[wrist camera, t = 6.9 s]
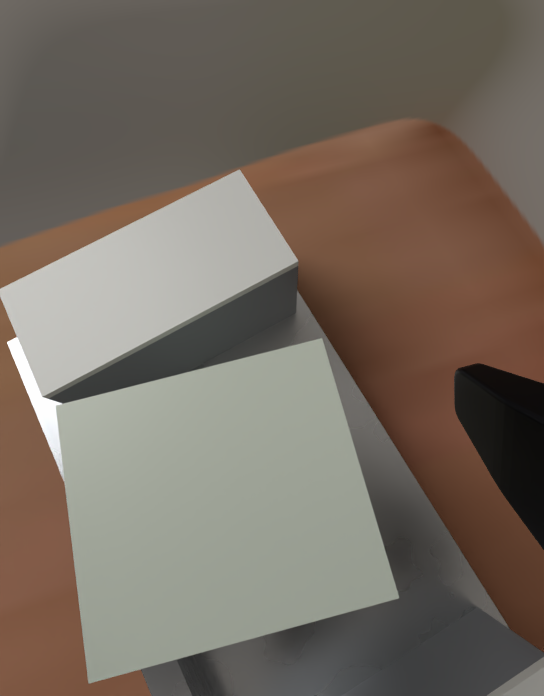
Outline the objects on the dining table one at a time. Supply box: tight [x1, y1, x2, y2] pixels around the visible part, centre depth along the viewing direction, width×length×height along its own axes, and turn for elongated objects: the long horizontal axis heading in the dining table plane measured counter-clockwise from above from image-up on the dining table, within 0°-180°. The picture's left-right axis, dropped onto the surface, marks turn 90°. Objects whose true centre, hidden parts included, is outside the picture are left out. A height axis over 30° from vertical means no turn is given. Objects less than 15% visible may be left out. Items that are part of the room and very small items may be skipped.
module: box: [0, 170, 298, 404], centre depth 15 cm, size 4×8×4 cm, turn 119°
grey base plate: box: [7, 291, 509, 696], centre depth 15 cm, size 19×10×3 cm, turn 29°
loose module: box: [56, 338, 399, 683], centre depth 11 cm, size 4×5×9 cm
